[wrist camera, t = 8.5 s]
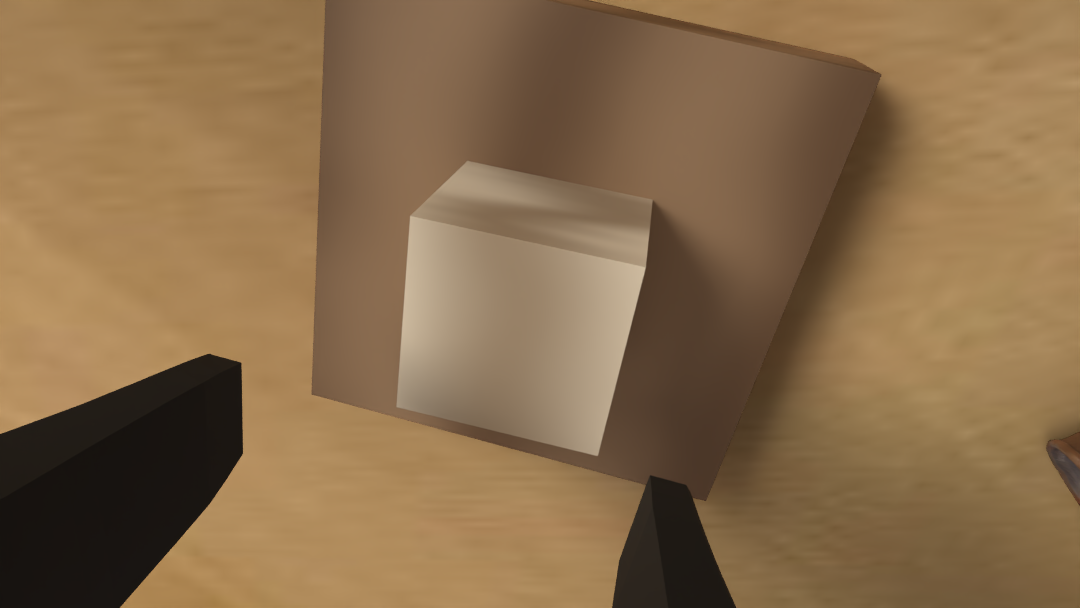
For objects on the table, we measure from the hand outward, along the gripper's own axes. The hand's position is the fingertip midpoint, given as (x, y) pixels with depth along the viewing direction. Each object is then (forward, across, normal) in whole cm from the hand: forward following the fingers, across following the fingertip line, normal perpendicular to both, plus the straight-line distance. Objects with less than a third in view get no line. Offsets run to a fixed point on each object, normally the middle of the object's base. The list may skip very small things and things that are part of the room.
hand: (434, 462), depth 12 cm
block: (+7, 0, -1) cm, 7 cm away
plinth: (+9, 0, -1) cm, 9 cm away
